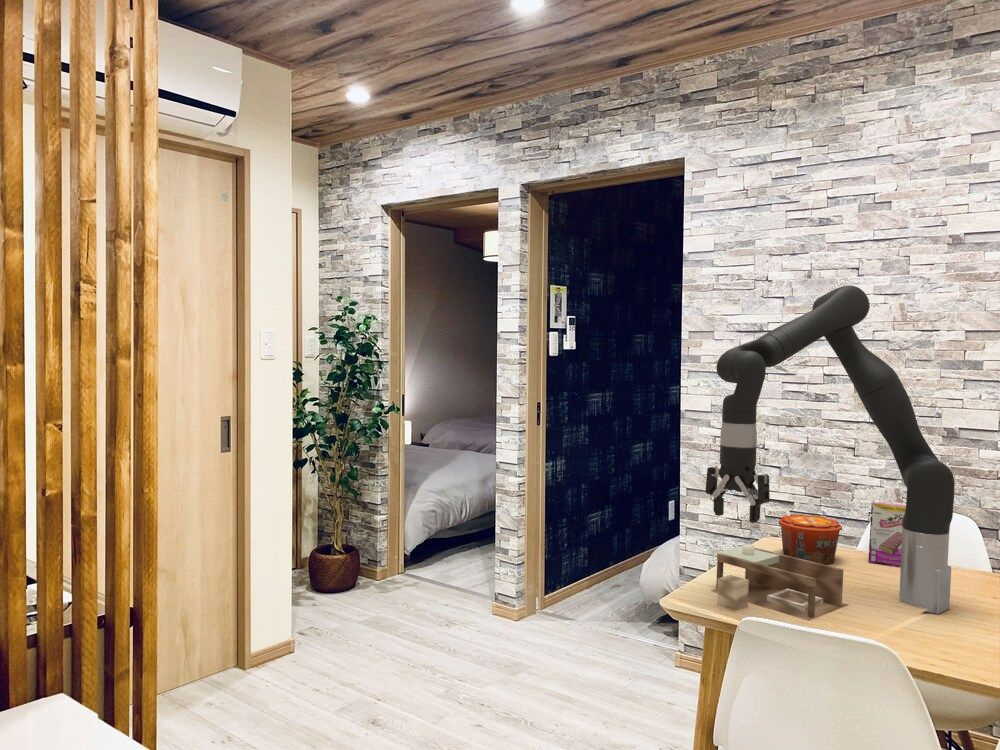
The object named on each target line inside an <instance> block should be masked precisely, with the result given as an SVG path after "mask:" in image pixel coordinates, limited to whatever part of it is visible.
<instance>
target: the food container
mask: <svg viewBox="0 0 1000 750" xmlns="http://www.w3.org/2000/svg"><path fill="white" fill-rule="evenodd" d="M778 524H779V527H780V532H781V542H782V543H781V544H782V554H783V555H787V556H791V557H795V558H799V559H803V560H807V561H811V562H816V563H820V564H824V565H828V564H829V565H832V564H833V562H834V561H835V557H836V552H837V547H838V546H837V545H838V541H839V537H840V532H841V531H843V526H842V524H841V523H839V521H838V520H836V519H833V518H827V517H825V516H821V515H813V514H811V515H806V514H802V513H801V514H800V513H798V514H790V515H787V514H786V515H785V514H784V515H783V516H781V517H780V519H778ZM829 565H828V566H829Z"/></svg>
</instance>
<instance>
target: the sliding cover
mask: <svg viewBox="0 0 1000 750" xmlns="http://www.w3.org/2000/svg"><path fill="white" fill-rule="evenodd" d="M754 548H755V545H754V544H751V543H743V544H742V545H741V546H737V547H733V548H729V549H724V550H722V551H718V552H716V555H717V554H723V555H727V556H731V557H735V558H739V559H743V560H747V561H750V562H754V563H758V564H762V565H766V566H768V565H772V564H775V563H778V562H779V557H780V555H776V554H772V553H768V552H764V551H760V550H755V549H754Z"/></svg>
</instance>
